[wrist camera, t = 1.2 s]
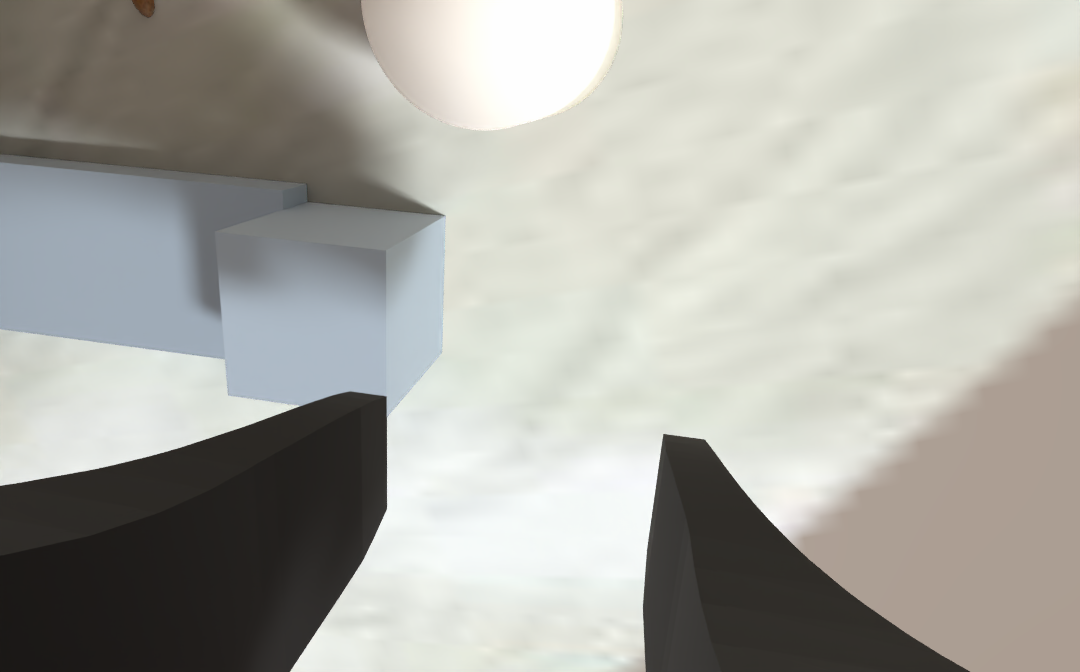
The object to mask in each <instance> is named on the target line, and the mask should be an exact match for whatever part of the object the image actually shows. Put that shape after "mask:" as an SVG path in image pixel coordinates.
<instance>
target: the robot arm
mask: <svg viewBox="0 0 1080 672" xmlns="http://www.w3.org/2000/svg"><path fill="white" fill-rule="evenodd" d="M386 510H387V396H381V395H374V394H366V393H359V392H352V391H349V392H344V393H339V394H336V395H332V396H329V397H326V398H323V399H320V400H317V401H314V402H311V403H308V404H305V405H303V406H300V407H297V408H294V409H292V410H289V411H286V412H284V413H281V414H278V415H275V416H273V417H270V418H267V419H264V420H262V421H259V422H256V423H254V424H251V425H248V426H245V427H242V428H239V429H236V430H233V431H230V432H227V433H224V434H221V435H218V436H215V437H212V438H209V439H206V440H203V441H200V442H197V443H194V444H191V445H188V446H185V447H181V448H178V449H175V450H171V451H168V452H164V453H160V454H157V455H153V456H149V457H146V458H142V459H137V460H133V461H129V462H125V463H121V464H117V465H113V466H108V467H104V468H99V469H95V470H90V471H84V472H78V473H73V474H67V475H61V476H56V477H50V478H45V479H39V480H33V481H28V482H22V483H16V484H10V485H3V486H0V672H290V671H291V669H292V668H293V666H294V665H295V663H296V662H297V660H298V659H299V657H300V655H301V654H302V652H303V651H304V649H305V648H306V646H307V645H308V643H309V642H310V640H311V639H312V637H313V636H314V634H315V633H316V631H317V630H318V628H319V627H320V625H321V624H322V622H323V621H324V619H325V618H326V616H327V615H328V613H329V612H330V610H331V609H332V607H333V606H334V604H335V603H336V601H337V600H338V598H339V597H340V595H341V594H342V592H343V591H344V589H345V587H346V586H347V584H348V583H349V581H350V580H351V578H352V577H353V575H354V574H355V572H356V570H357V569H358V567H359V566H360V564H361V563H362V561H363V559H364V557H365V555H366V553H367V551H368V549H369V547H370V545H371V543H372V541H373V539H374V536H375V534H376V532H377V530H378V528H379V525H380V523H381V521H382V519H383V516H384V514H385V512H386ZM643 620H644V642H645V664H646V672H970V671H968V670H966V669H964V668H963V667H961V666H959V665H957V664H956V663H954V662H952V661H950V660H949V659H947V658H945V657H943V656H941V655H940V654H938V653H937V652H935V651H934V650H932V649H930V648H929V647H927V646H925V645H924V644H922V643H921V642H919V641H917V640H916V639H914V638H913V637H911V636H910V635H908V634H906V633H905V632H904V631H902V630H901V629H899V628H898V627H896V626H895V625H893V624H892V623H891V622H889V621H888V620H886V619H885V618H883V617H882V616H881V615H879V614H878V613H876V612H875V611H873V610H872V609H870V608H869V607H867V606H866V605H864V604H863V603H862V602H861V601H859V600H858V599H857V598H855V597H854V596H853V595H851V594H850V593H849V592H847V591H846V590H845V589H844V588H842V587H841V586H840V585H839V584H838V583H836V582H835V581H834V580H833V579H832V578H830V577H829V576H828V575H827V574H825V573H824V572H823V571H822V570H821V569H820V568H819V567H817V566H816V565H815V564H813V562H811V561H810V560H809V559H808V558H807V557H806V556H805V555H804V554H803V553H801V552H800V551H799V550H798V549H797V548H796V547H795V546H794V545H793V544H792V543H791V542H790V541H789V540H788V539H787V538H786V537H785V536H784V535H783V534H782V533H781V532H780V531H779V530H778V529H777V528H776V527H775V526H774V525H773V524H772V523H771V522H770V521H769V520H768V518H767V517H766V516H765V515H764V514H763V513H762V512H761V511H760V510H759V508H758V507H757V506H756V505H755V504H754V503H753V502H752V500H751V499H750V498H749V497H748V496H747V494H746V493H745V492H744V491H743V490H742V488H741V487H740V486H739V484H738V483H737V482H736V481H735V479H734V478H733V477H732V475H731V474H730V473H729V471H728V470H727V469H726V467H725V466H724V465H723V463H722V462H721V461H720V459H719V458H718V456H717V455H716V454H715V452H714V451H713V450H712V448H711V447H710V446H709V444H708V443H707V442H706V441H705V440H703V439H696V438H689V437H681V436H674V435H667V434H663V441H662V448H661V455H660V462H659V469H658V476H657V484H656V491H655V498H654V505H653V512H652V519H651V526H650V533H649V541H648V548H647V559H646V572H645V586H644V600H643Z"/></svg>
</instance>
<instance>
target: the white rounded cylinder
mask: <svg viewBox="0 0 1080 672" xmlns="http://www.w3.org/2000/svg"><path fill="white" fill-rule="evenodd" d="M361 9H362V15H363V21H364V26H365V30H366V33H367V37H368V40H369V43H370V46H371V48H372V50H373V53H374V55H375V57H376V59H377V61H378V63H379V65H380V66H381V68H382V70H383V72H384V73H385V75H386V76H387V77H388V79H389V80H390V81H391V83H392V84H393V85H394V87H395V88H396V89H397V90H398V91H399V92H400V93H401V94H402V95H403V96H404V97H405V98H406V99H407V100H408V101H409V102H410V103H412V104H413V105H414V106H415V107H417V108H418V109H419V110H421V111H423V112H424V113H426V114H427V115H429V116H431V117H433V118H435V119H437V120H439V121H441V122H444V123H446V124H449V125H453V126H456V127H459V128H465V129H471V130H497V129H505V128H509V127H513V126H516V125H520V124H524V123H528V122H531V121H535V120H539V119H543V118H546V117H550V116H554V115H557V114H560V113H562V112H565V111H567V110H569V109H571V108H573V107H574V106H576V105H578V104H579V103H581V102H582V101H583V100H584V99H586V98H587V97H588V96H589V95H590V94H591V93H592V92H593V91H594V90H595V89H596V88H597V87H598V86H599V84H600V83H601V82H602V80H603V79H604V78H605V76H606V75H607V73H608V71H609V69H610V68H611V66H612V64H613V61H614V59H615V57H616V54H617V51H618V47H619V44H620V40H621V34H622V27H623V8H622V0H361Z"/></svg>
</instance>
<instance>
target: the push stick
mask: <svg viewBox="0 0 1080 672" xmlns="http://www.w3.org/2000/svg"><path fill="white" fill-rule="evenodd" d="M445 217H446V216H442V215H432V214H423V213H413V212H403V211H393V210H383V209H373V208H363V207H353V206H343V205H334V204H324V203H314V202H307V184H303V183H293V182H283V181H273V180H262V179H252V178H242V177H232V176H222V175H211V174H201V173H191V172H181V171H170V170H160V169H150V168H140V167H129V166H119V165H109V164H99V163H88V162H78V161H68V160H58V159H47V158H37V157H27V156H17V155H6V154H0V329H4V330H11V331H19V332H26V333H33V334H41V335H48V336H56V337H63V338H71V339H78V340H86V341H93V342H100V343H108V344H115V345H123V346H130V347H138V348H145V349H153V350H160V351H167V352H175V353H182V354H190V355H197V356H205V357H212V358H220V359H225V364H226V376H227V388H228V395H229V396H236V397H243V398H250V399H257V400H264V401H271V402H278V403H285V404H292V405H300V406H303V405H305V404H308V403H311V402H314V401H317V400H320V399H323V398H326V397H329V396H332V395H336V394H339V393H344V392H349V391H352V392H359V393H366V394H374V395H381V396H387V417H388V415H389V414H390V413H391V412H392V411H393V409H394V408H395V407H396V406H397V405H398V404H399V402H400V401H401V400H402V399H403V398H404V397H405V395H406V394H407V393H408V392H409V391H410V390H411V388H412V387H413V386H414V385H415V384H416V382H417V381H418V380H419V379H420V378H421V377H422V375H423V374H424V373H425V372H426V371H427V370H428V368H429V367H430V366H431V365H432V364H433V363H434V361H435V360H436V359H437V358H438V357H439V355H440V354H441V353H442V333H443V295H444V256H445Z"/></svg>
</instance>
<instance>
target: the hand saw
mask: <svg viewBox="0 0 1080 672" xmlns="http://www.w3.org/2000/svg"><path fill="white" fill-rule="evenodd" d="M132 2H133V4H134V5H135V7H136V8H137V9H138V10H139V12H140V13H141V14H142V15H144V16H146V17H151V16H152V14H153V12H154V9H155V6H154V0H132Z"/></svg>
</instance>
